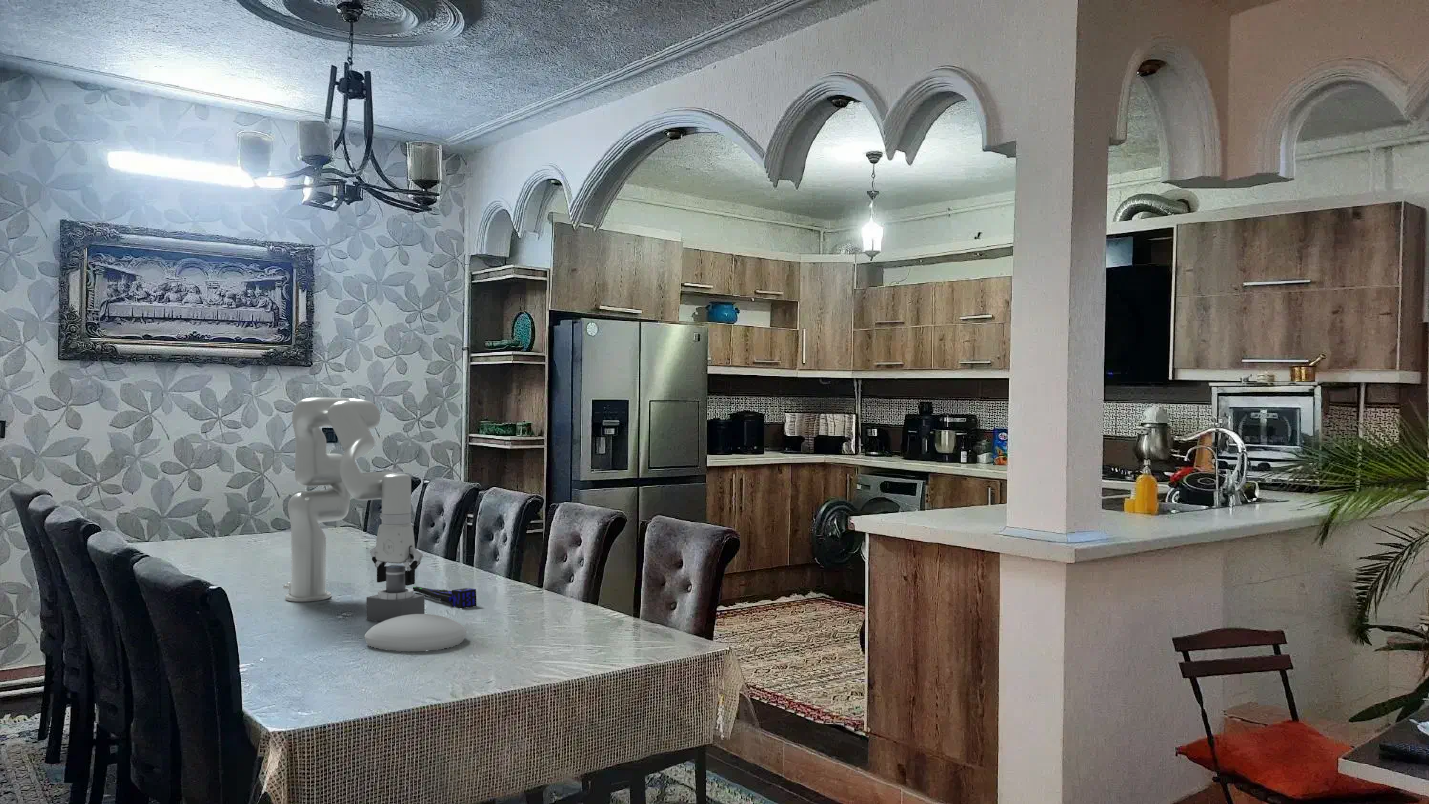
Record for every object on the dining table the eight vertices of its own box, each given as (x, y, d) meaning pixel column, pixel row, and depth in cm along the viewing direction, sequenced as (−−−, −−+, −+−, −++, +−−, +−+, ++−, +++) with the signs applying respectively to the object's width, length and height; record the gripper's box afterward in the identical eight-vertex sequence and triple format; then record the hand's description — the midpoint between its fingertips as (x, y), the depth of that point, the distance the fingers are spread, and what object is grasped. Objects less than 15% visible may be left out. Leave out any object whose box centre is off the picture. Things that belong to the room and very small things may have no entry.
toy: (407, 601, 308) (457, 609, 286) (407, 585, 308) (456, 591, 286) (432, 597, 314) (483, 605, 292) (432, 581, 314) (483, 588, 292)
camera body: (366, 619, 272) (366, 591, 272) (390, 613, 280) (390, 586, 280) (401, 624, 267) (401, 595, 267) (424, 617, 275) (424, 589, 275)
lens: (381, 597, 272) (381, 566, 272) (395, 593, 277) (395, 563, 276) (396, 598, 270) (396, 568, 270) (409, 595, 275) (409, 565, 274)
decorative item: (434, 657, 234) (481, 638, 253) (434, 627, 234) (481, 610, 253) (350, 648, 242) (401, 630, 261) (350, 619, 242) (402, 603, 261)
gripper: (361, 519, 273) (361, 582, 273) (412, 523, 266) (411, 588, 266) (381, 516, 280) (380, 578, 280) (431, 520, 273) (430, 583, 273)
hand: (395, 583), depth 273 cm, fingers open, 9 cm apart
